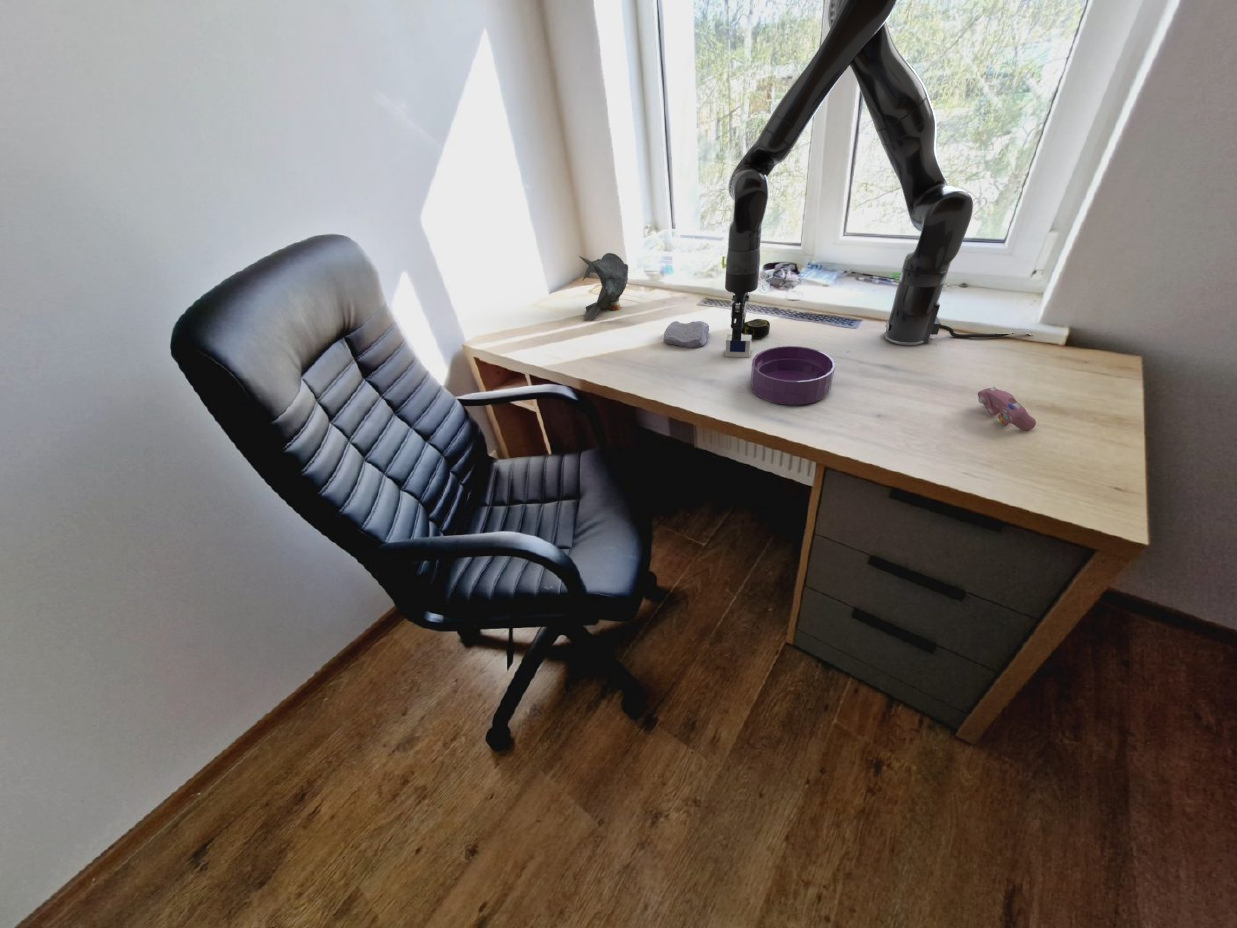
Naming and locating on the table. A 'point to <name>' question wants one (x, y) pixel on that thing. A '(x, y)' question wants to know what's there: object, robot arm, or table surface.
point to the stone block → (687, 334)
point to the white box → (738, 346)
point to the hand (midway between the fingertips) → (738, 334)
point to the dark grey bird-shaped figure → (607, 283)
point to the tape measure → (756, 328)
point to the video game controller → (1006, 408)
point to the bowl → (792, 375)
